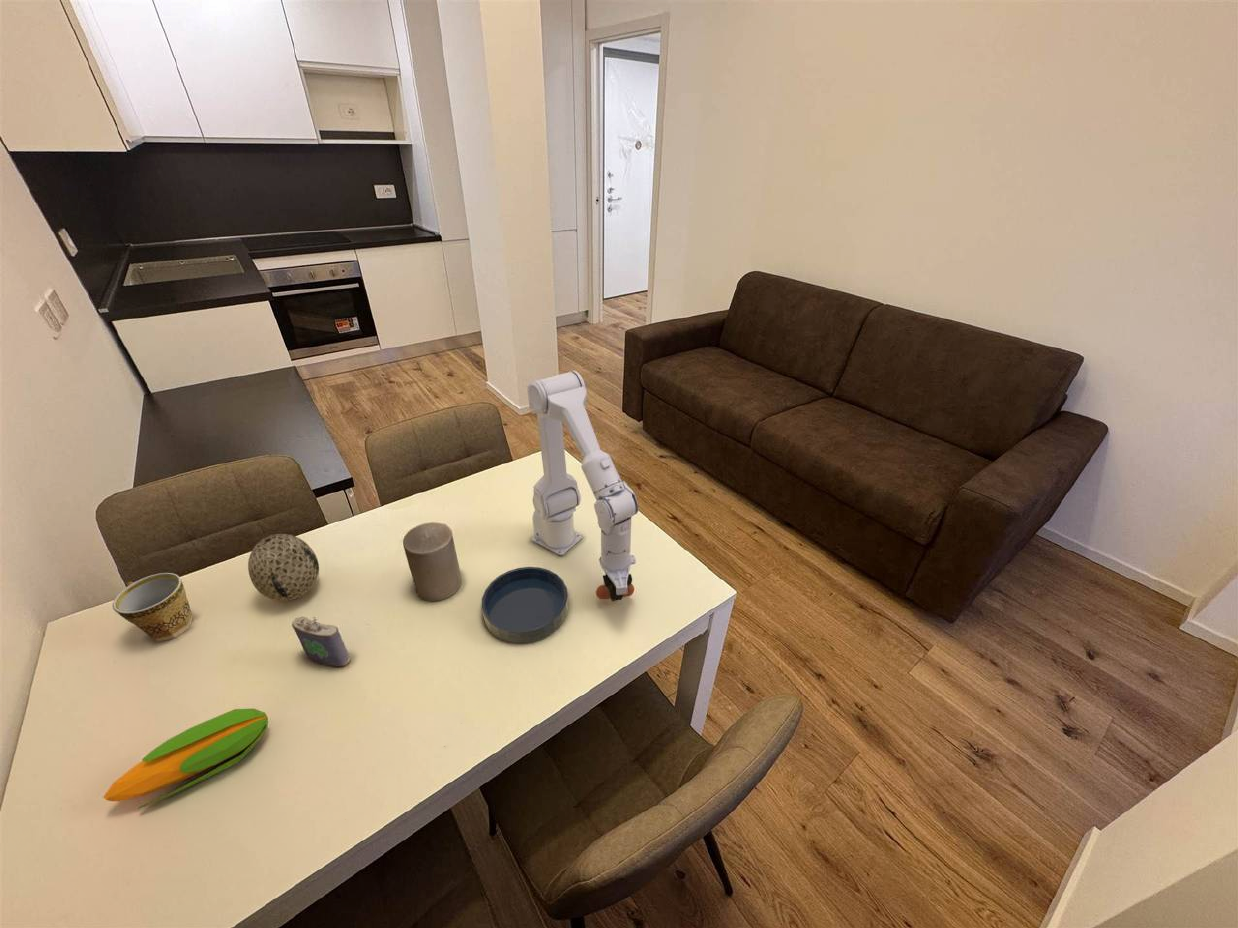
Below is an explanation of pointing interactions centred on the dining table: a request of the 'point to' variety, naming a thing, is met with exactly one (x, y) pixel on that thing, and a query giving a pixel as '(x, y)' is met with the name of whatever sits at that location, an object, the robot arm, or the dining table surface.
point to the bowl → (525, 605)
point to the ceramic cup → (156, 606)
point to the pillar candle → (432, 561)
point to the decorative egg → (283, 567)
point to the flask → (321, 642)
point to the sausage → (604, 592)
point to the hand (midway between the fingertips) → (615, 592)
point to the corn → (192, 754)
